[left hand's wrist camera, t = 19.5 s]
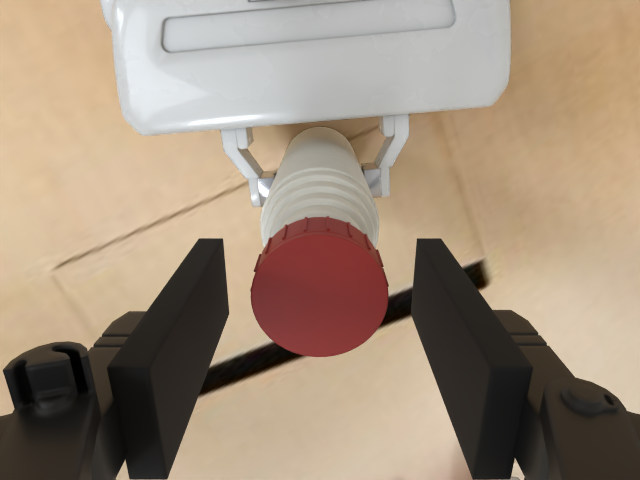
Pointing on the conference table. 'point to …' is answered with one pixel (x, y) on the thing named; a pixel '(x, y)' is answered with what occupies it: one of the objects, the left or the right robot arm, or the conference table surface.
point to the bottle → (319, 185)
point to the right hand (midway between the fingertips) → (321, 199)
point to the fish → (512, 478)
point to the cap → (319, 287)
